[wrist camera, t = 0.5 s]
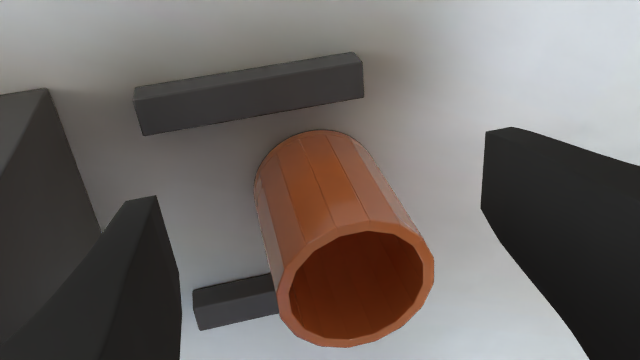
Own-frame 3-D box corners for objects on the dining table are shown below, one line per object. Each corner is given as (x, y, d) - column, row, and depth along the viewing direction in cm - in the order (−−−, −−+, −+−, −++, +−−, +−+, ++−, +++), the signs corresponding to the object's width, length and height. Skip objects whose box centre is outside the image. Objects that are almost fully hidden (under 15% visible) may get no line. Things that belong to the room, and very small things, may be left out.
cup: (377, 223, 25) (433, 327, 20) (263, 247, 24) (288, 363, 19) (372, 118, 22) (436, 206, 17) (243, 142, 22) (266, 241, 16)
